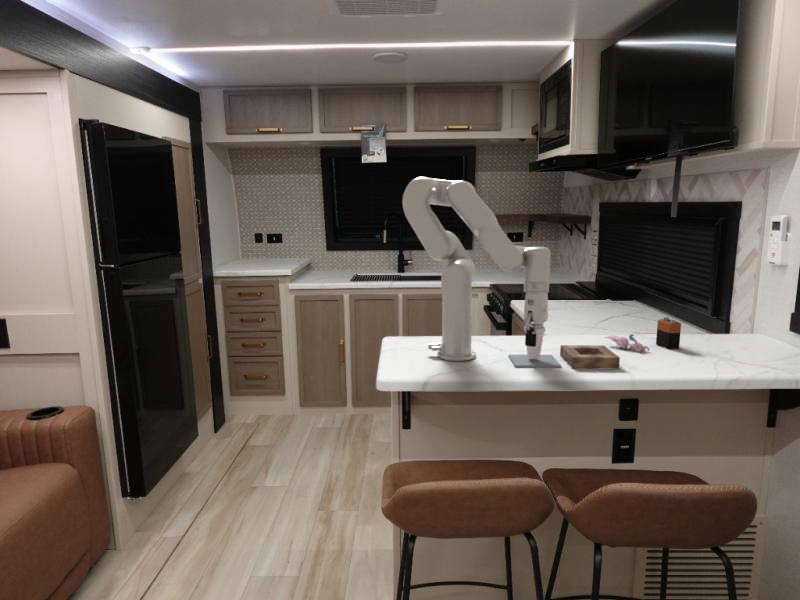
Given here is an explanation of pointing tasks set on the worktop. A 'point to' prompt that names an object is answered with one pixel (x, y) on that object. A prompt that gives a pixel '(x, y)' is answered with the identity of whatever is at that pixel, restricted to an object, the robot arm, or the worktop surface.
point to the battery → (668, 333)
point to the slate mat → (534, 361)
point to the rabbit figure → (624, 343)
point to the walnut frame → (589, 356)
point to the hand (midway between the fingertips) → (534, 343)
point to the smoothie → (535, 351)
